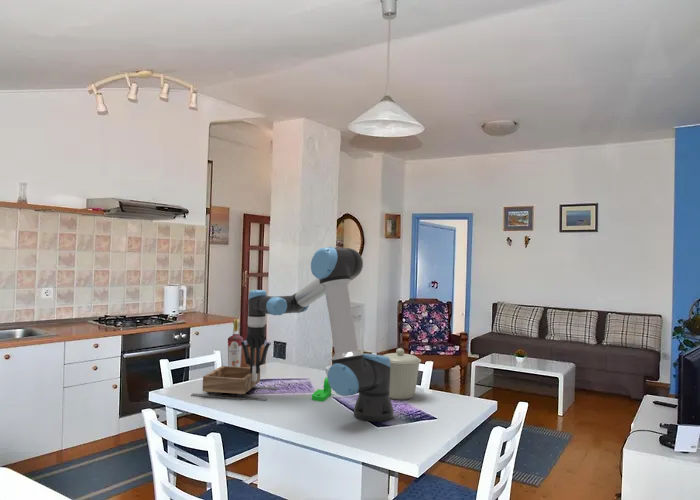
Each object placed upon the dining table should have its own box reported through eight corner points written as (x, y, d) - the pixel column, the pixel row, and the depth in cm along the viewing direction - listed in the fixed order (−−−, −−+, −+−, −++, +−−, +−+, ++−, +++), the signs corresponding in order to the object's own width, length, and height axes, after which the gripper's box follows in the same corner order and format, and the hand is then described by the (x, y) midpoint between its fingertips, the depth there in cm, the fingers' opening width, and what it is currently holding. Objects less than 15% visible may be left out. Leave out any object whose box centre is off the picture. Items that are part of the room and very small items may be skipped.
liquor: (242, 375, 256) (244, 318, 256) (240, 379, 249) (242, 320, 249) (227, 375, 255) (229, 318, 256) (225, 379, 248) (227, 320, 248)
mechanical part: (317, 393, 228) (318, 375, 228) (331, 394, 227) (331, 376, 227) (309, 400, 216) (310, 381, 216) (323, 402, 215) (324, 382, 215)
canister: (384, 389, 238) (385, 343, 238) (423, 394, 232) (424, 347, 232) (372, 399, 221) (374, 349, 221) (414, 404, 215) (416, 353, 215)
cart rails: (265, 400, 213) (265, 399, 213) (190, 396, 217) (190, 394, 217) (278, 388, 233) (278, 387, 233) (209, 384, 237) (209, 383, 237)
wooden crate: (244, 398, 213) (245, 379, 213) (202, 395, 215) (203, 376, 216) (259, 385, 235) (260, 368, 235) (221, 382, 237) (222, 365, 237)
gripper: (273, 325, 228) (271, 379, 227) (244, 324, 229) (242, 377, 229) (268, 327, 220) (266, 383, 220) (239, 326, 222) (237, 381, 221)
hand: (254, 380), depth 224 cm, fingers closed
